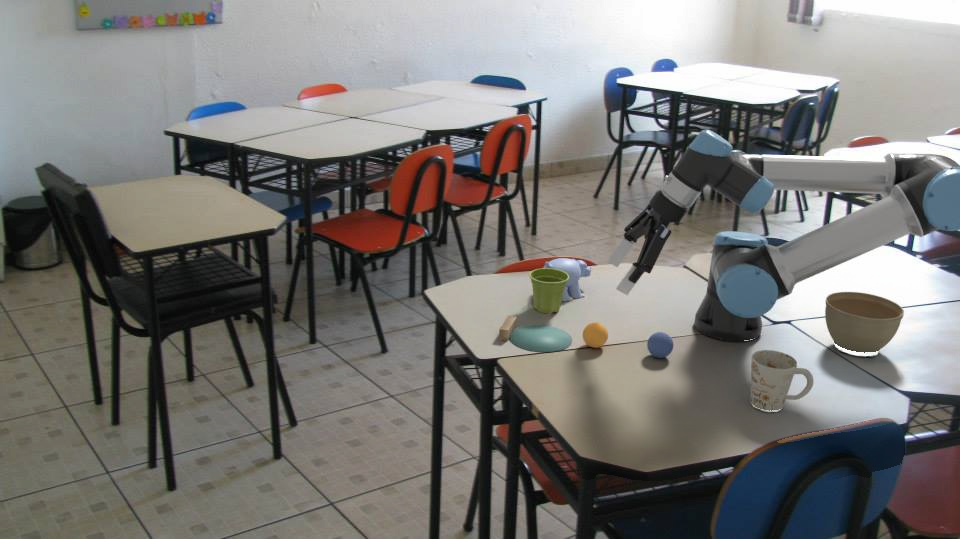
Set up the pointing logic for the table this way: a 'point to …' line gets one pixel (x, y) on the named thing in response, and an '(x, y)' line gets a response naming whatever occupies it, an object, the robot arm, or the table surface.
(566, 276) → the plant pot
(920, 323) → the table surface
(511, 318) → the rail
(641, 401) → the table surface
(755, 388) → the mug
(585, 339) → the orange ball
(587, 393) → the table surface
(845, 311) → the planter bowl
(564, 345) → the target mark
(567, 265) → the hippopotamus toy
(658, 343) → the blue ball
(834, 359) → the table surface
